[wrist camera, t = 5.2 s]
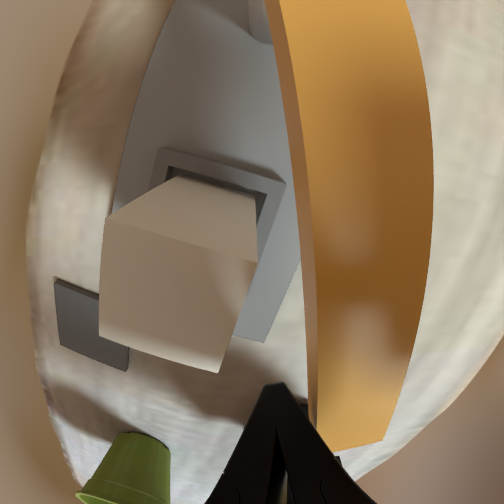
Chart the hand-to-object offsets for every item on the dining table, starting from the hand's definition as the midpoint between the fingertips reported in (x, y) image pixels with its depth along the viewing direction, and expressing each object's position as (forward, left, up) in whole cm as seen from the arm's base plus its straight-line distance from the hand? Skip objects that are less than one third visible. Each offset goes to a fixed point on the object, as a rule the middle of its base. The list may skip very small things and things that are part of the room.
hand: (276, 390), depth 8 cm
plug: (+1, +4, -10) cm, 11 cm away
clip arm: (+7, +1, -1) cm, 7 cm away
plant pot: (-30, +6, -11) cm, 32 cm away
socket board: (+4, +4, -11) cm, 12 cm away
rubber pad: (-11, +11, -11) cm, 19 cm away
